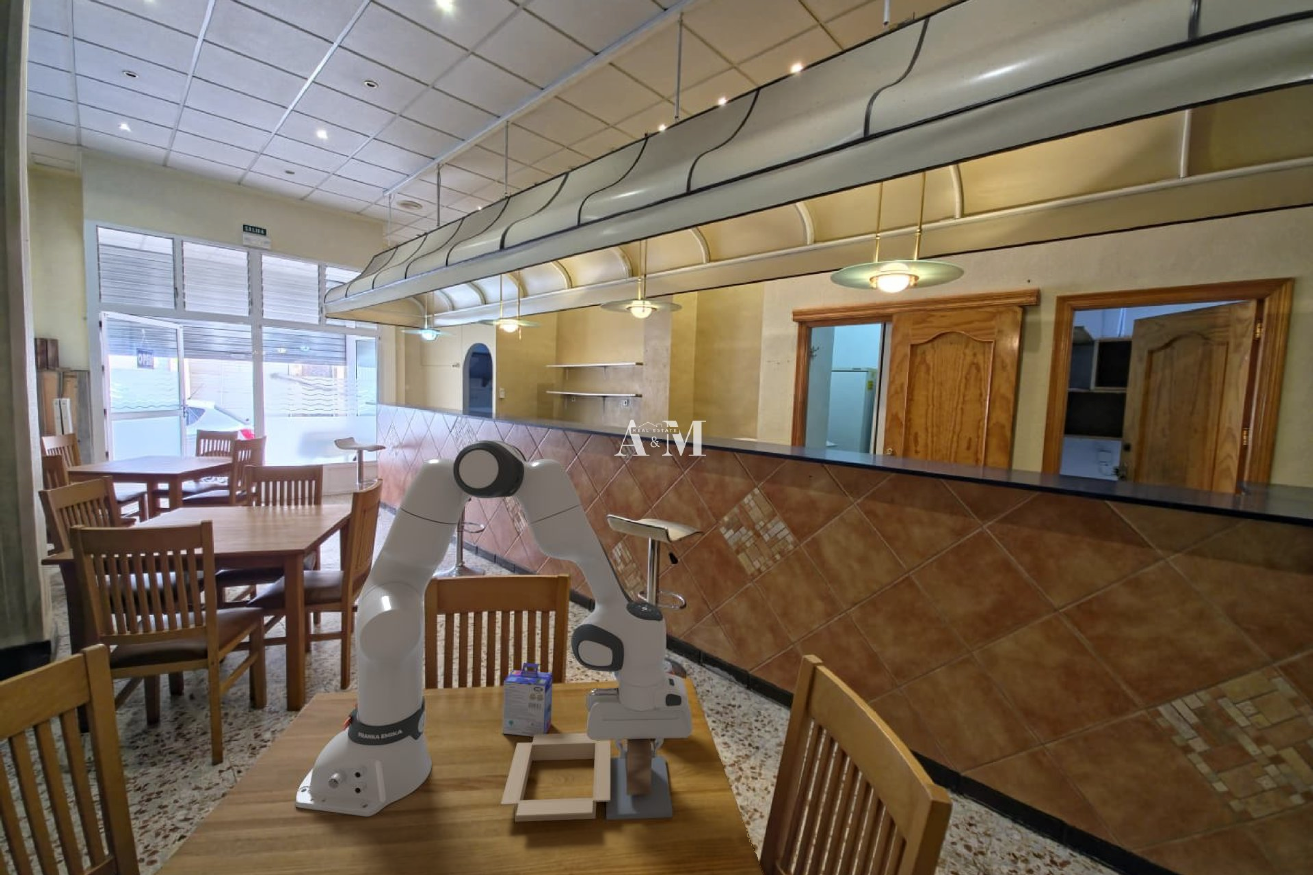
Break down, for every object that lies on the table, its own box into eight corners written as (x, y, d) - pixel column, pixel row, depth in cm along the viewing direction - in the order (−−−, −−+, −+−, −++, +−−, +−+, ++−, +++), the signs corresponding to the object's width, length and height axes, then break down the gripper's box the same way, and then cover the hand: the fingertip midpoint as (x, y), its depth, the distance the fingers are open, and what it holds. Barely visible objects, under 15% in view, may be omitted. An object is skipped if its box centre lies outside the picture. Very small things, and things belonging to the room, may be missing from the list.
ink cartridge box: (552, 722, 113) (554, 662, 112) (544, 739, 108) (546, 676, 107) (511, 718, 114) (512, 658, 113) (501, 734, 109) (502, 672, 107)
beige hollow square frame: (497, 834, 84) (497, 815, 84) (519, 750, 104) (519, 734, 104) (609, 829, 86) (610, 811, 86) (609, 747, 106) (610, 732, 106)
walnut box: (626, 794, 91) (628, 753, 90) (625, 758, 100) (626, 720, 99) (650, 793, 91) (652, 753, 90) (646, 757, 100) (648, 720, 99)
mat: (606, 819, 88) (606, 814, 88) (606, 761, 102) (607, 757, 102) (672, 816, 89) (672, 811, 89) (664, 759, 103) (664, 755, 103)
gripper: (585, 698, 90) (583, 769, 91) (695, 697, 91) (692, 766, 93) (587, 679, 96) (584, 745, 97) (690, 677, 98) (686, 743, 99)
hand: (638, 755), depth 95 cm, fingers closed on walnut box, 4 cm apart
